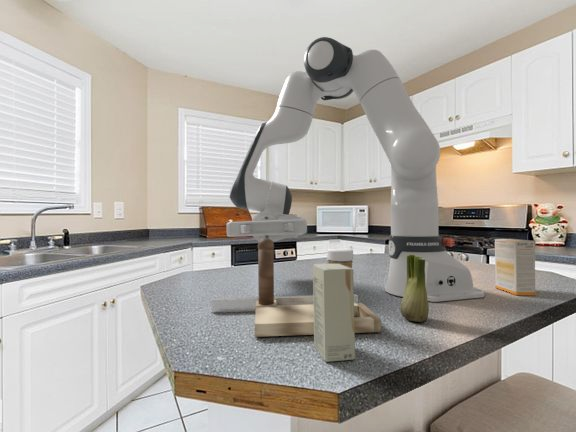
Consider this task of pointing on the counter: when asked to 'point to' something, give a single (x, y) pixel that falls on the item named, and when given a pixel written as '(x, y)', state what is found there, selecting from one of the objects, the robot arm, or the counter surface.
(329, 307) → the skincare box
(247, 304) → the rail
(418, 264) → the fennel bulb
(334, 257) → the sprinkles bottle
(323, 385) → the counter surface
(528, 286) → the supplement box
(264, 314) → the wooden peg stand
